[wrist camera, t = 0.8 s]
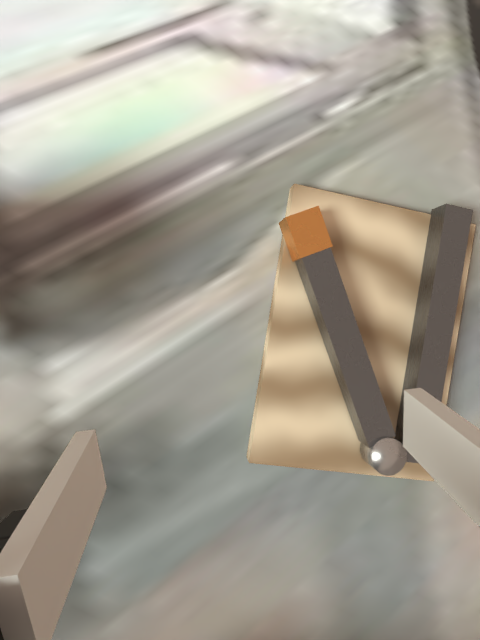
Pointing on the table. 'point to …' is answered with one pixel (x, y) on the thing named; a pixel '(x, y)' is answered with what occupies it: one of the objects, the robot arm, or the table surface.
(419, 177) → the table surface
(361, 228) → the serving board
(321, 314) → the bar
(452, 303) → the bar
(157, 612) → the table surface
